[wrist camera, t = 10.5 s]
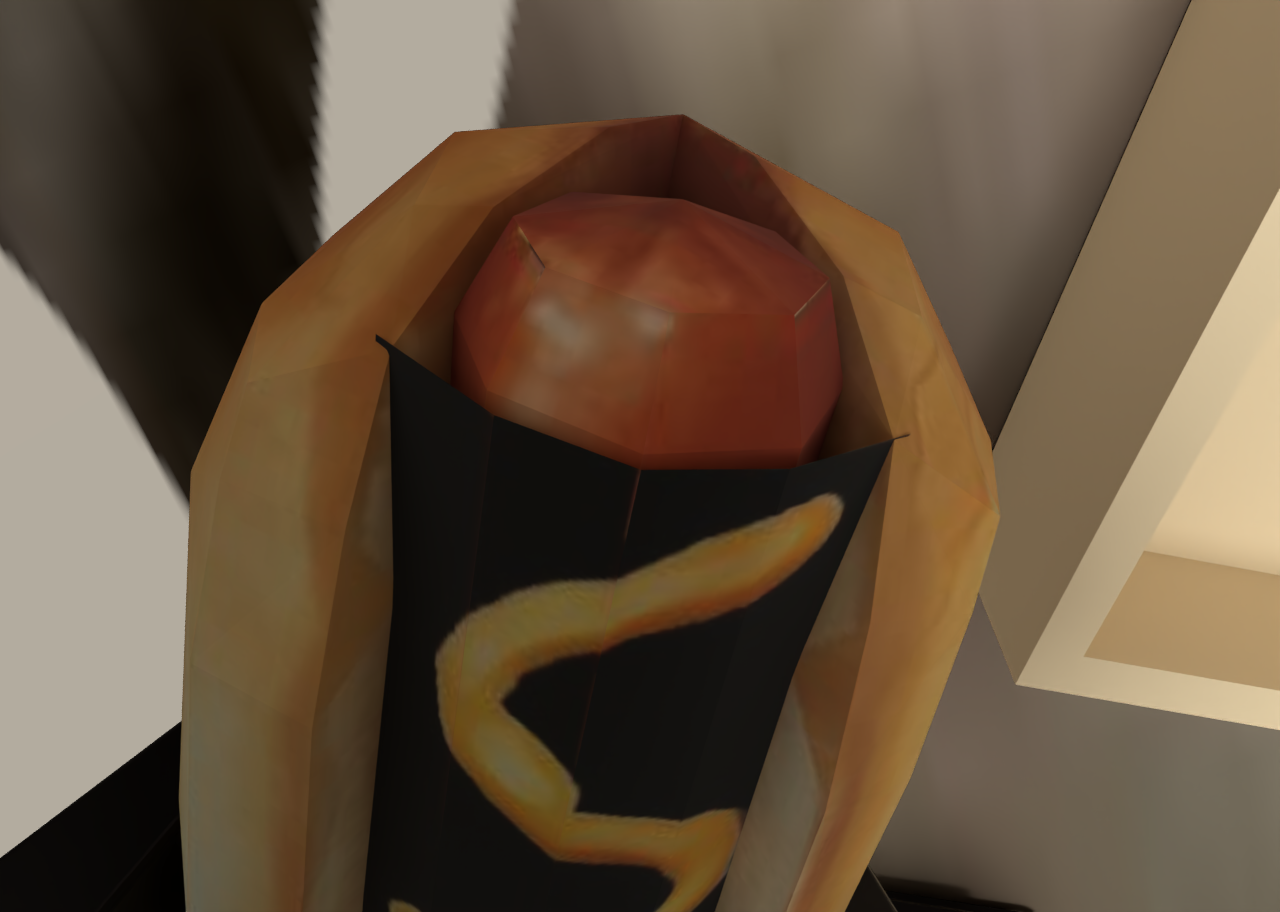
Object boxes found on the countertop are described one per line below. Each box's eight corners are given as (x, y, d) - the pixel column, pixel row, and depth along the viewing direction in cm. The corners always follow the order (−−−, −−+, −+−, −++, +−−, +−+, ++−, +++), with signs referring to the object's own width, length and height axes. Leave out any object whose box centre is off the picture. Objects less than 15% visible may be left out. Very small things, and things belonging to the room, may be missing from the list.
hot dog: (317, 955, 14) (161, 1414, 10) (333, -19, 7) (-136, 149, 3) (647, 1004, 15) (629, 1469, 10) (957, 110, 8) (1279, 420, 4)
